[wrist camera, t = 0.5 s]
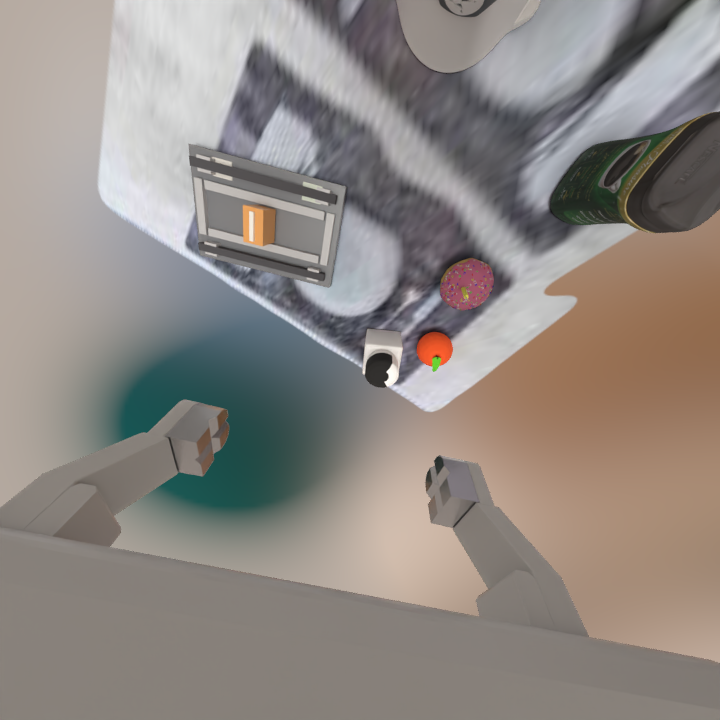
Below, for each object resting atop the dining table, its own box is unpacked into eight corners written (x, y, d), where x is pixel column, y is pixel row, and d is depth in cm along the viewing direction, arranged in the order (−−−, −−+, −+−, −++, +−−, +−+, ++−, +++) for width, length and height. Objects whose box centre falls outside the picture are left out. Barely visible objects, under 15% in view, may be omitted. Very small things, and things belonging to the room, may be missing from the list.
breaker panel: (196, 146, 40) (181, 141, 36) (347, 187, 41) (344, 186, 38) (206, 253, 48) (194, 256, 45) (331, 284, 49) (327, 290, 46)
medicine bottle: (364, 356, 57) (360, 390, 47) (367, 327, 53) (363, 357, 43) (396, 360, 57) (398, 394, 47) (401, 331, 53) (405, 361, 43)
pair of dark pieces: (194, 156, 38) (189, 155, 37) (337, 195, 39) (336, 195, 38) (203, 248, 45) (199, 250, 44) (324, 279, 46) (323, 281, 45)
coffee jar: (577, 231, 41) (695, 249, 26) (538, 208, 40) (637, 212, 24) (634, 163, 36) (823, 133, 21) (592, 134, 35) (759, 79, 20)
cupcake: (432, 299, 49) (444, 325, 39) (440, 252, 45) (457, 267, 35) (477, 302, 49) (502, 328, 39) (490, 254, 44) (522, 270, 34)
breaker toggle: (257, 204, 41) (240, 204, 36) (275, 209, 41) (261, 210, 36) (257, 237, 44) (241, 242, 39) (274, 242, 44) (260, 247, 39)
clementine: (445, 359, 56) (452, 378, 50) (413, 359, 57) (416, 378, 51) (451, 326, 52) (459, 342, 46) (416, 326, 52) (420, 342, 46)
